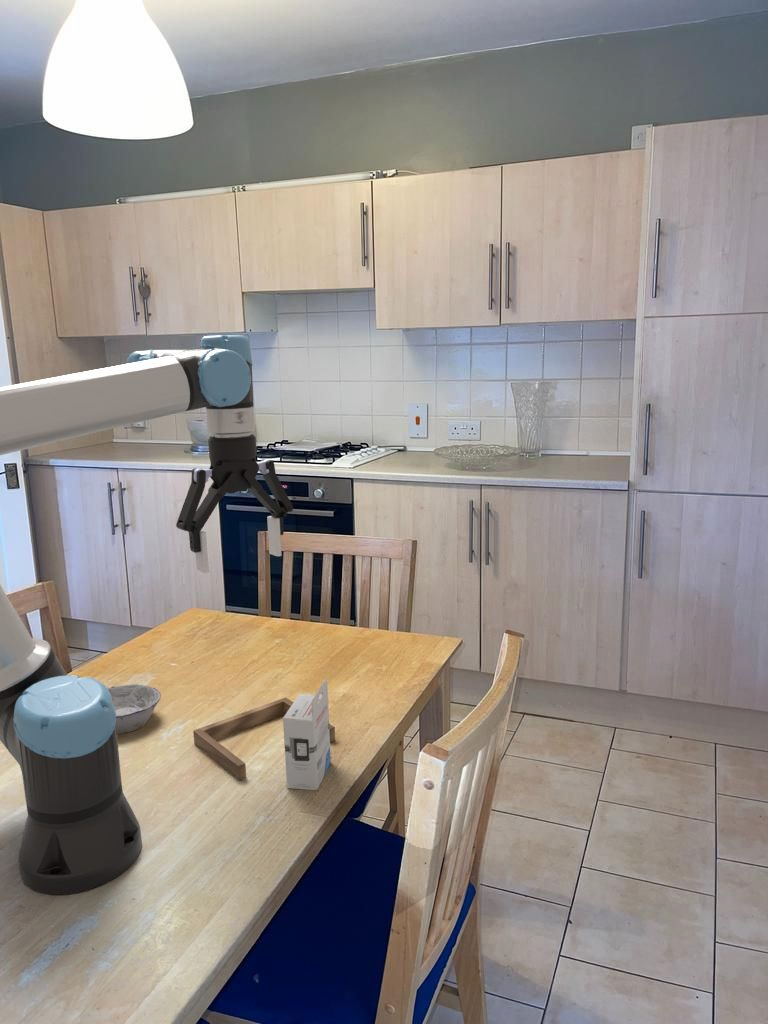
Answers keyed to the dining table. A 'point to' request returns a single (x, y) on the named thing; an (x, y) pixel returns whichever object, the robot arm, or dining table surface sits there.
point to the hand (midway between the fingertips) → (240, 562)
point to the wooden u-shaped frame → (212, 732)
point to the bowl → (133, 705)
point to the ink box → (307, 740)
